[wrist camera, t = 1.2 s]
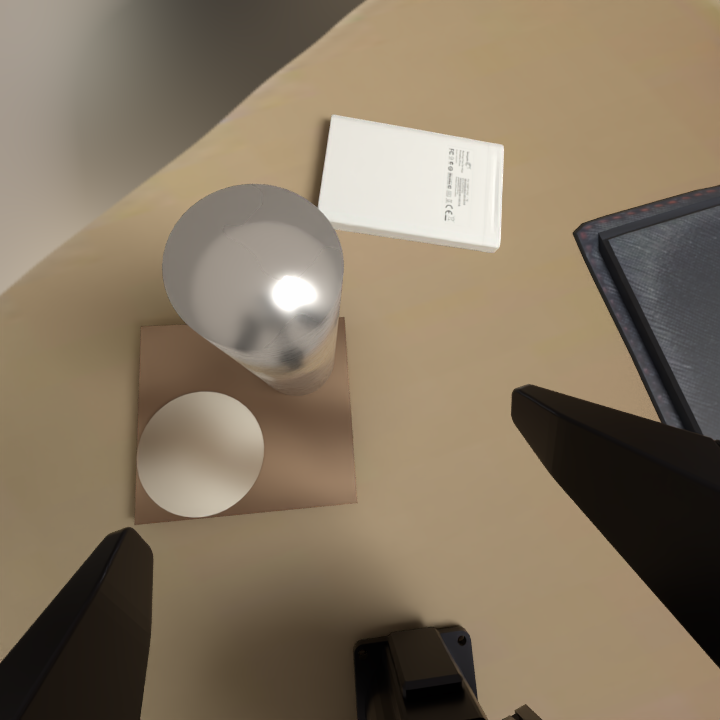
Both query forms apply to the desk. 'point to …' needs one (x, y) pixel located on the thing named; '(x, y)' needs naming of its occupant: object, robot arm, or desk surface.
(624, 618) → the desk surface
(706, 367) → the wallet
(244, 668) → the desk surface
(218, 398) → the board
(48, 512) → the desk surface
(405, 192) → the external hard drive
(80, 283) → the desk surface
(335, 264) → the steel pin
